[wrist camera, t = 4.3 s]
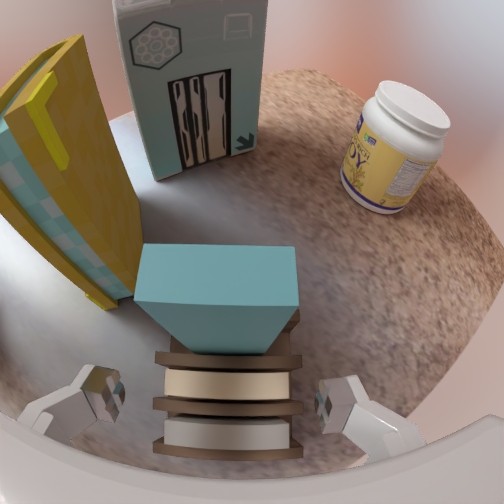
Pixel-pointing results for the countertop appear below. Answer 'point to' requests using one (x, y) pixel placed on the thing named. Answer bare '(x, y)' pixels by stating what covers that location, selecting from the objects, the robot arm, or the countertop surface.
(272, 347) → the rack
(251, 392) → the block
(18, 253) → the countertop surface
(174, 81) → the device
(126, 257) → the book
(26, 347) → the countertop surface
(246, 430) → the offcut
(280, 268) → the tall sheet
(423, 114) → the supplement tub
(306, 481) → the robot arm
